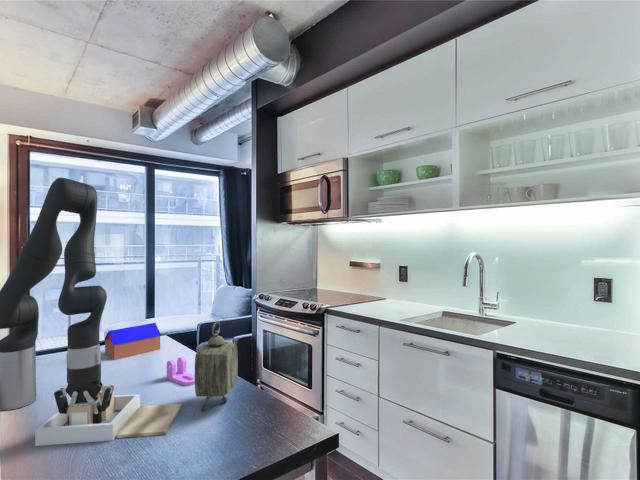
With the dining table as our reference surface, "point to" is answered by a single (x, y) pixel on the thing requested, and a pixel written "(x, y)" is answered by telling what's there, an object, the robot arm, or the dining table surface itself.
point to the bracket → (179, 372)
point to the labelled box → (80, 414)
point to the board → (150, 421)
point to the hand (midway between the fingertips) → (85, 427)
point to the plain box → (110, 409)
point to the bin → (87, 425)
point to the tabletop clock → (215, 368)
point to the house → (132, 341)
